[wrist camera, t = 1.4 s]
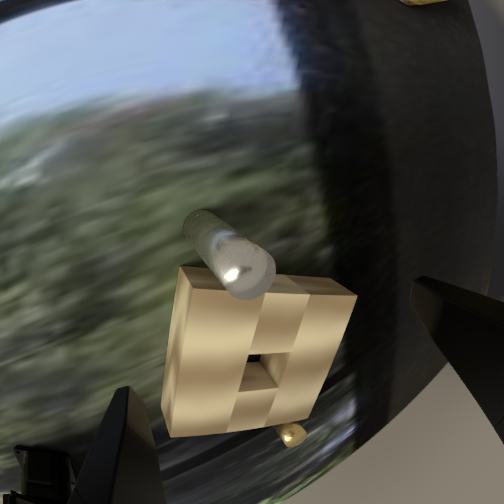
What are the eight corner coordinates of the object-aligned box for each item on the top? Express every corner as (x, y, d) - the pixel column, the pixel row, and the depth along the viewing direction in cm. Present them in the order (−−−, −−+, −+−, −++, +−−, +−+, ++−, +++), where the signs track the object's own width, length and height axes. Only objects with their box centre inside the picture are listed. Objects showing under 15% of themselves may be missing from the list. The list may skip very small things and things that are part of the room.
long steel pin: (213, 246, 24) (268, 301, 16) (179, 242, 22) (219, 299, 15) (221, 212, 23) (281, 251, 15) (186, 206, 22) (231, 245, 14)
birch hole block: (288, 395, 32) (307, 418, 29) (160, 406, 26) (170, 437, 23) (330, 278, 29) (357, 295, 26) (179, 265, 23) (192, 288, 19)
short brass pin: (286, 422, 34) (302, 444, 31) (267, 425, 33) (283, 449, 30) (292, 407, 34) (310, 429, 30) (273, 410, 32) (290, 434, 29)
